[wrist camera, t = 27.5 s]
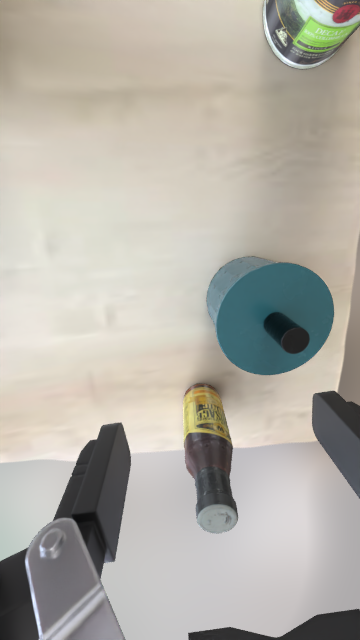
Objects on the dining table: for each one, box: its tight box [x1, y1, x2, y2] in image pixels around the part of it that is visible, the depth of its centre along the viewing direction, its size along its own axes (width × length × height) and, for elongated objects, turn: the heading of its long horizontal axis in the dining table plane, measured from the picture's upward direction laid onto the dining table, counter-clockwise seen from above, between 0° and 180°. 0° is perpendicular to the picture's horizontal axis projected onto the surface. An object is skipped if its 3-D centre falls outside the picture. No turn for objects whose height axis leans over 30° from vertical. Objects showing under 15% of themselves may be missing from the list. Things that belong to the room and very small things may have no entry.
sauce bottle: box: [183, 384, 238, 533], centre depth 34 cm, size 6×6×20 cm
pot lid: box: [215, 262, 334, 375], centre depth 26 cm, size 13×13×6 cm
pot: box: [207, 256, 276, 325], centre depth 33 cm, size 12×12×10 cm
